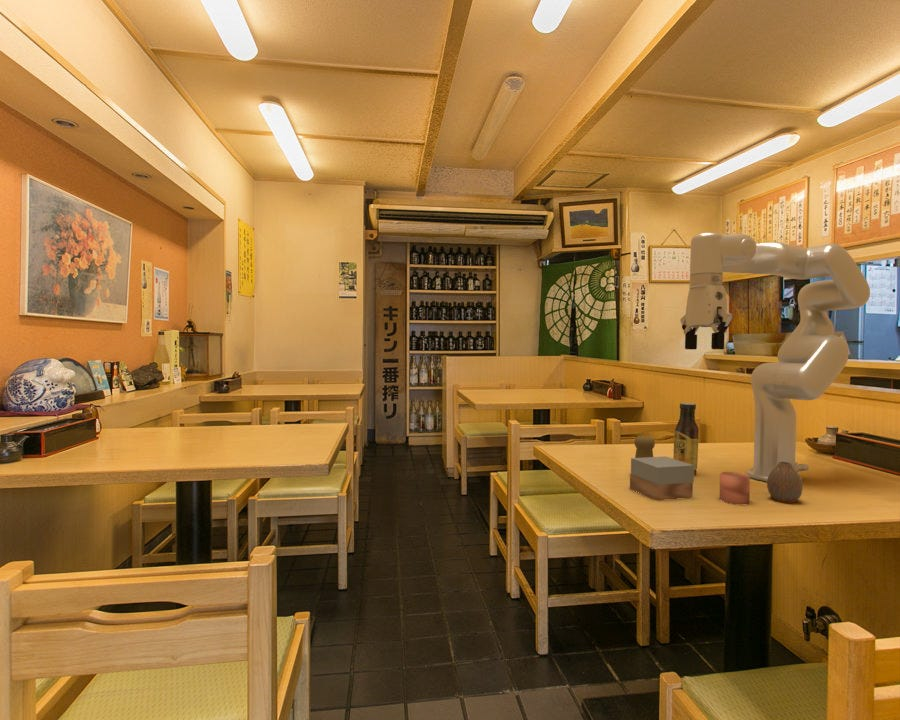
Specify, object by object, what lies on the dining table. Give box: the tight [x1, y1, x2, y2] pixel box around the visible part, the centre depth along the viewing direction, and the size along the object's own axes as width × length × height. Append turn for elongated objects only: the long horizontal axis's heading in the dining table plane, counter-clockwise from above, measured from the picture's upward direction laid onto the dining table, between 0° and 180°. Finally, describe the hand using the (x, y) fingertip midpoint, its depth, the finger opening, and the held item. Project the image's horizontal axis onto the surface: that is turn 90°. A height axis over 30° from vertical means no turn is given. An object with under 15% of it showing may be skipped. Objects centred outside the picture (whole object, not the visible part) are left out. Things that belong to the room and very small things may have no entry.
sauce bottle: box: [672, 402, 700, 475], centre depth 141 cm, size 7×6×20 cm
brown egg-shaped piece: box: [766, 462, 804, 503], centre depth 116 cm, size 7×7×9 cm
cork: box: [634, 435, 656, 458], centre depth 137 cm, size 6×6×11 cm
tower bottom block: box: [629, 473, 694, 501], centre depth 121 cm, size 10×10×4 cm
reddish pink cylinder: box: [719, 471, 751, 505], centre depth 115 cm, size 6×6×6 cm
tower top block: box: [630, 456, 695, 485], centre depth 121 cm, size 10×10×4 cm
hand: (703, 349), depth 128 cm, fingers open, 9 cm apart
